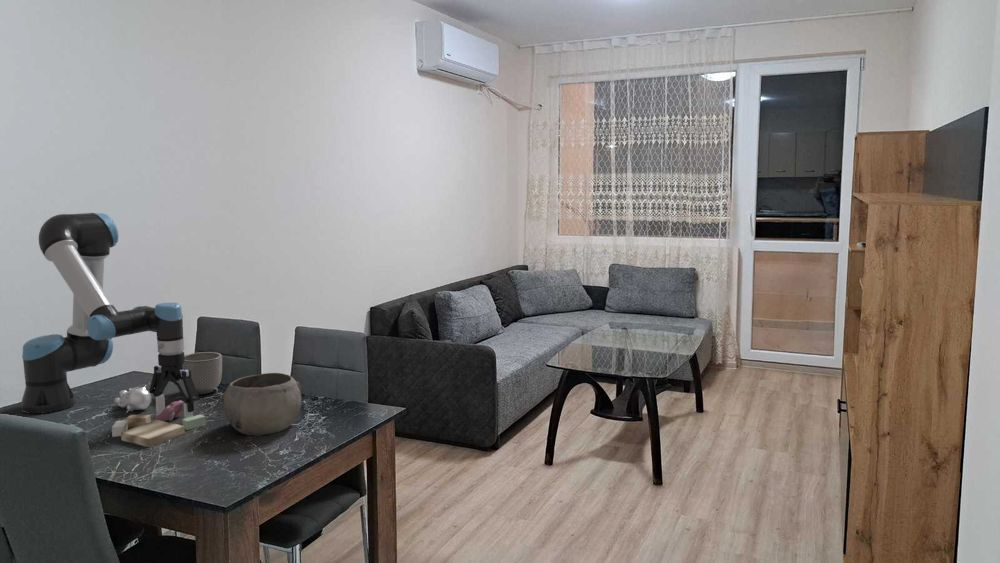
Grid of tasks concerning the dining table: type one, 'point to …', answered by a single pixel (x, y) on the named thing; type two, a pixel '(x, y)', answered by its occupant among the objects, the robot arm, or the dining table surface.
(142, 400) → the figurine
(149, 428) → the maple slab
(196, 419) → the brick sage
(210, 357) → the planter
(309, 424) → the dining table surface
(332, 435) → the dining table surface
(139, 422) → the brick beech
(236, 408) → the bowl
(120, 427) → the brick white
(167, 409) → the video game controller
